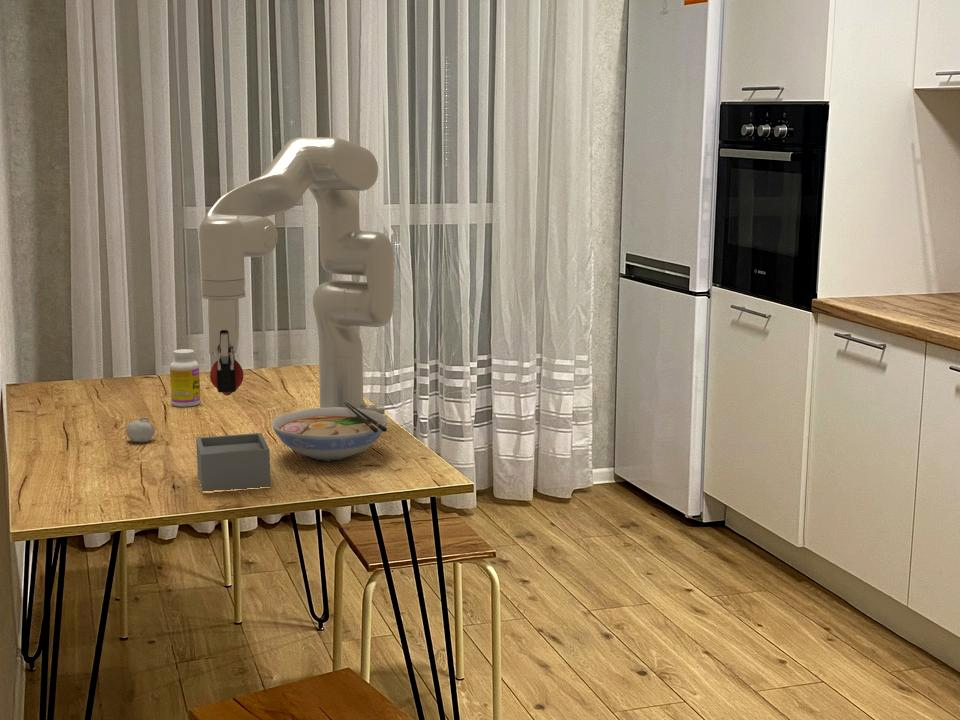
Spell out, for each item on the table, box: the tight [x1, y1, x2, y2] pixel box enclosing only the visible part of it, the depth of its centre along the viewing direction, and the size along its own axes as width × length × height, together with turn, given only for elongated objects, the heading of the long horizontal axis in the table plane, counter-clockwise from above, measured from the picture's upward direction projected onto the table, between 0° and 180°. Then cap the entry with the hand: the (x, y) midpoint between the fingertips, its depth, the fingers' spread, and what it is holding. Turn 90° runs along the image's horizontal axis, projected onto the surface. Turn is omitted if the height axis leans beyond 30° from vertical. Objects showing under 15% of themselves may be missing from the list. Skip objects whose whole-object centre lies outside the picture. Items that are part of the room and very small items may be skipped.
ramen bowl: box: [271, 403, 388, 462], centre depth 222 cm, size 25×23×8 cm
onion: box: [209, 359, 244, 396], centre depth 203 cm, size 6×6×8 cm
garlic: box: [126, 416, 156, 444], centre depth 233 cm, size 6×5×5 cm
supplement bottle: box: [169, 348, 201, 408], centre depth 264 cm, size 7×7×13 cm
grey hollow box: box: [195, 432, 272, 492], centre depth 206 cm, size 12×12×8 cm
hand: (227, 386), depth 203 cm, fingers closed on onion, 5 cm apart
